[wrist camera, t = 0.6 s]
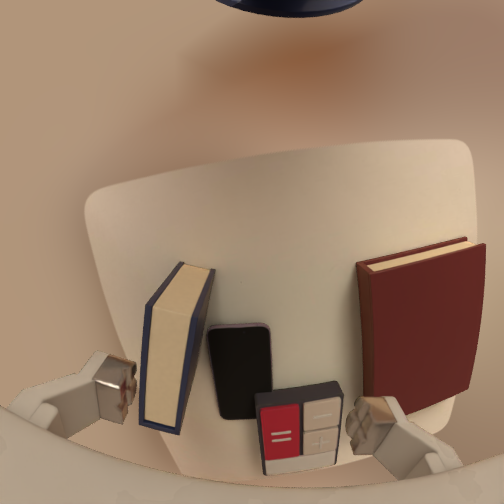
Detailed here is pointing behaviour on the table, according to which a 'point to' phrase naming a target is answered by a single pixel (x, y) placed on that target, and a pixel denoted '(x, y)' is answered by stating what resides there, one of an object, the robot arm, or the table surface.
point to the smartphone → (240, 367)
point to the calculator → (299, 427)
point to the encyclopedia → (421, 321)
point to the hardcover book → (172, 346)
